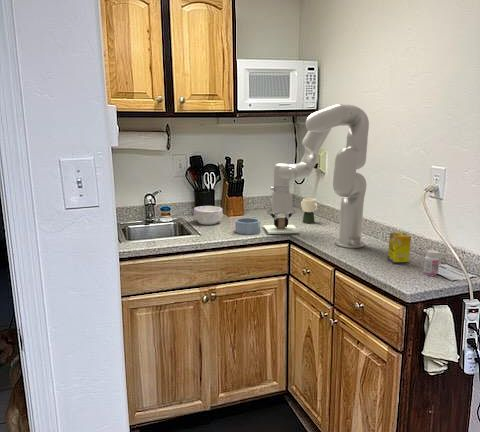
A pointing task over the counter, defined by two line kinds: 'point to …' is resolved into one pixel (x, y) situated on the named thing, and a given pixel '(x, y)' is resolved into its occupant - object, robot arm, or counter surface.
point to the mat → (279, 234)
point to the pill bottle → (431, 262)
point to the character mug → (309, 209)
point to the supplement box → (399, 248)
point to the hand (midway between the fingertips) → (281, 226)
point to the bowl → (247, 226)
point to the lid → (280, 228)
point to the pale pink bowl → (208, 214)
